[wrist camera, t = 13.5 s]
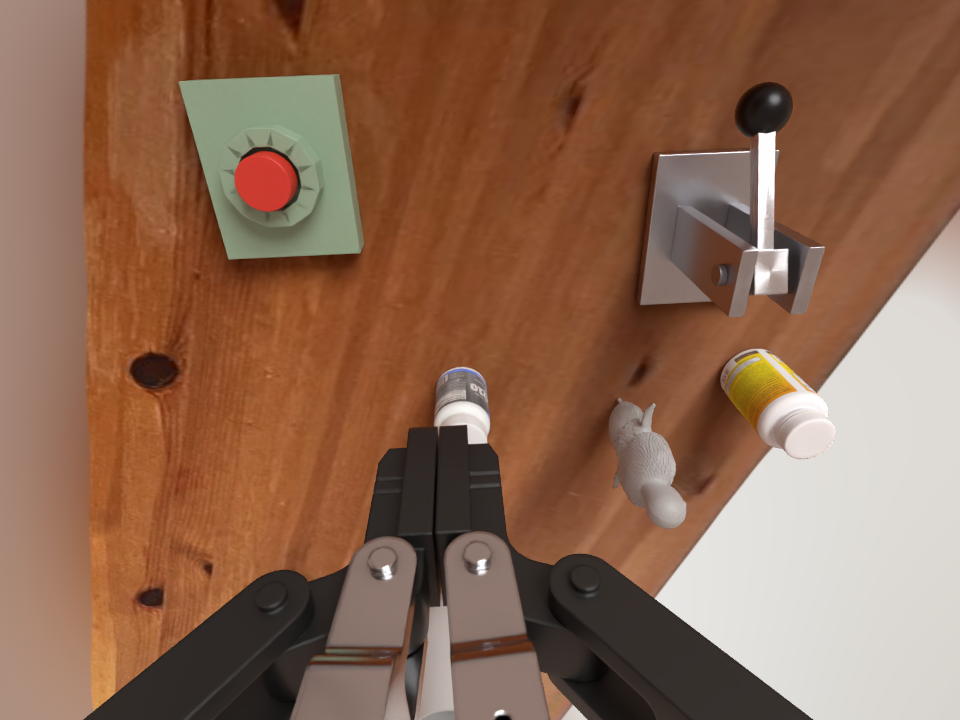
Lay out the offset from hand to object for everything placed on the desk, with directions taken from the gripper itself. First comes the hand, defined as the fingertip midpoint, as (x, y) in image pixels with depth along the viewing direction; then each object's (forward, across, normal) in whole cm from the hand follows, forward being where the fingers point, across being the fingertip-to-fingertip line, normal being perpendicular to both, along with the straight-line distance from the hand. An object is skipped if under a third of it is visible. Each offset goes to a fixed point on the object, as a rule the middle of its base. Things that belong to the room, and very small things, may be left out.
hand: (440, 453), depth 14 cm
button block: (+31, +12, -2) cm, 33 cm away
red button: (+27, +12, -2) cm, 30 cm away
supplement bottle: (+31, -27, +18) cm, 45 cm away
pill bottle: (+31, 0, +18) cm, 36 cm away
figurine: (+31, -15, +21) cm, 40 cm away
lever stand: (+31, -20, +4) cm, 37 cm away
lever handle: (+25, -20, 0) cm, 32 cm away
